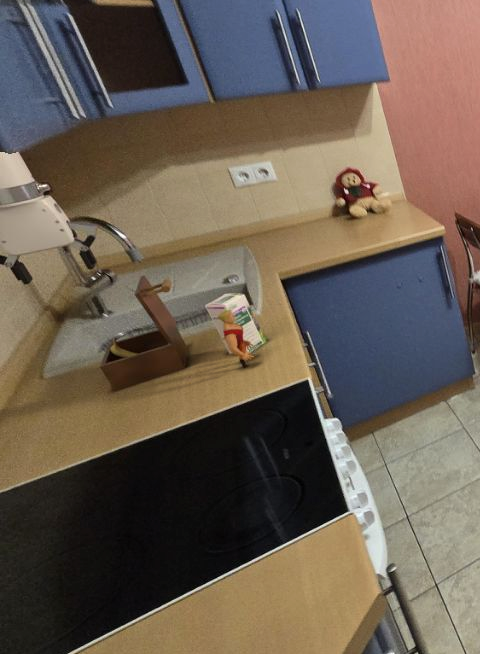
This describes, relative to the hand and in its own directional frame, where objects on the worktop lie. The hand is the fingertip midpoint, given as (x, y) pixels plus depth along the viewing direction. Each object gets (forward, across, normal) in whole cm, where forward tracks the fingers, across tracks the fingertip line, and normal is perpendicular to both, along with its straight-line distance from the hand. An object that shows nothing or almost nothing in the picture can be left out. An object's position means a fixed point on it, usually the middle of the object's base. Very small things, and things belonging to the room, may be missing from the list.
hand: (61, 274), depth 110 cm
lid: (+14, -10, -4) cm, 17 cm away
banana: (+23, -1, -4) cm, 24 cm away
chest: (+28, -4, -4) cm, 29 cm away
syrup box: (+28, -24, +2) cm, 37 cm away
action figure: (+28, -24, +11) cm, 39 cm away
